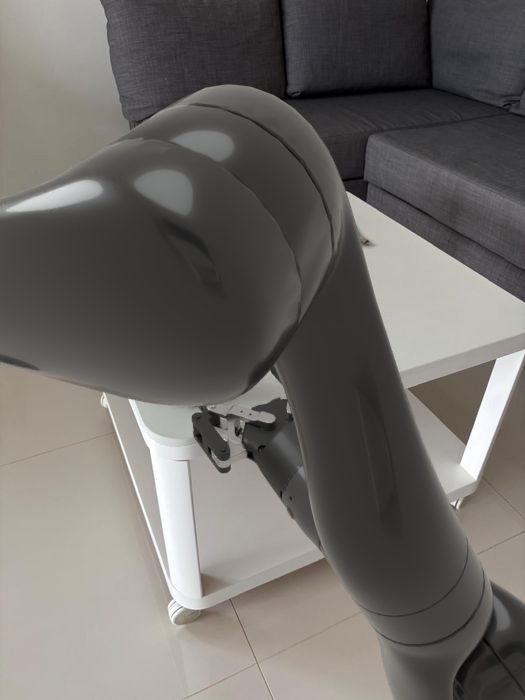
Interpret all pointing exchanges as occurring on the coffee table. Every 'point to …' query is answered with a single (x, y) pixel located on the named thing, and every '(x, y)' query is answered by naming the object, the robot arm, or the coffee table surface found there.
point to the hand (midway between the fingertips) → (237, 374)
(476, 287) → the coffee table surface
